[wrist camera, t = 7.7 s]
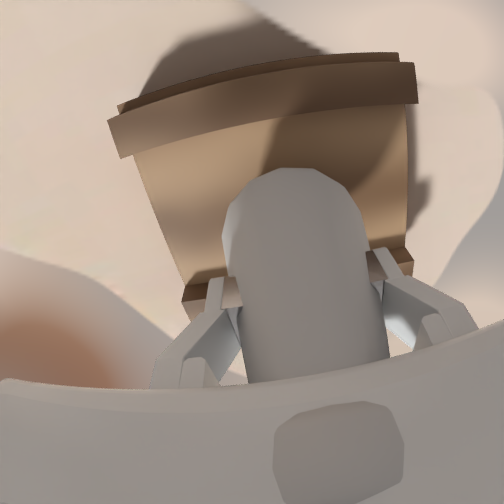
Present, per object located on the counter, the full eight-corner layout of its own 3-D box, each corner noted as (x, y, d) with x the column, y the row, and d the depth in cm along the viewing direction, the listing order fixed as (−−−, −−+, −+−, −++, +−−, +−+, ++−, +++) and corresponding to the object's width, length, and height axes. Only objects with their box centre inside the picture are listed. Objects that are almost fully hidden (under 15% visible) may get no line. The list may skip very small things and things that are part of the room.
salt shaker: (353, 156, 13) (546, 438, 2) (336, 259, 16) (408, 511, 5) (223, 151, 13) (147, 527, 2) (227, 258, 16) (208, 536, 5)
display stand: (137, 98, 15) (103, 110, 11) (375, 53, 13) (412, 52, 10) (202, 284, 23) (195, 329, 19) (386, 251, 21) (409, 291, 17)
